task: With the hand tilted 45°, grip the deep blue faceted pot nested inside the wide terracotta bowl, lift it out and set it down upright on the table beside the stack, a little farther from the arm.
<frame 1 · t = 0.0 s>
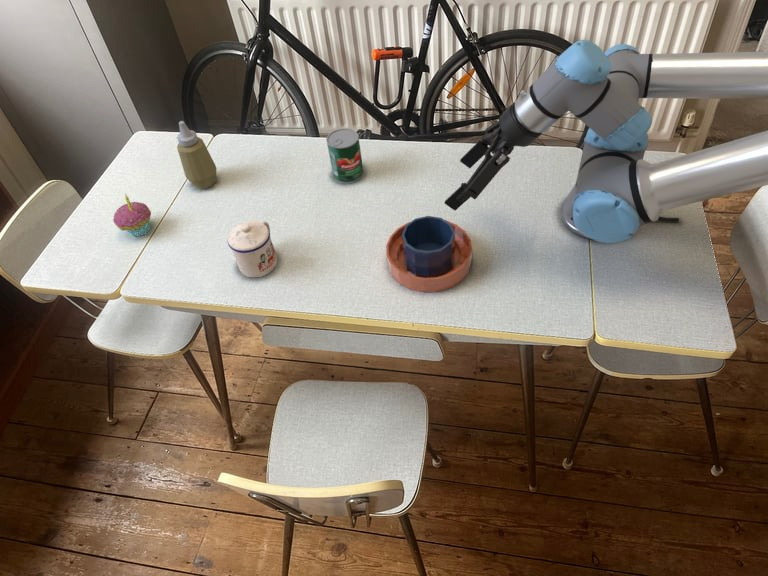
hand: (457, 184, 118), 15 cm above the table, tool tilted 35°, fingers open, 13 cm apart
lower bowl: (429, 261, 126), on the table
cupcake: (140, 230, 141), on the table
canned tomato: (348, 174, 148), on the table
teacup with lid: (261, 260, 131), on the table
blue faceted pot: (429, 260, 125), resting on lower bowl
squeeze bottle: (205, 182, 151), on the table
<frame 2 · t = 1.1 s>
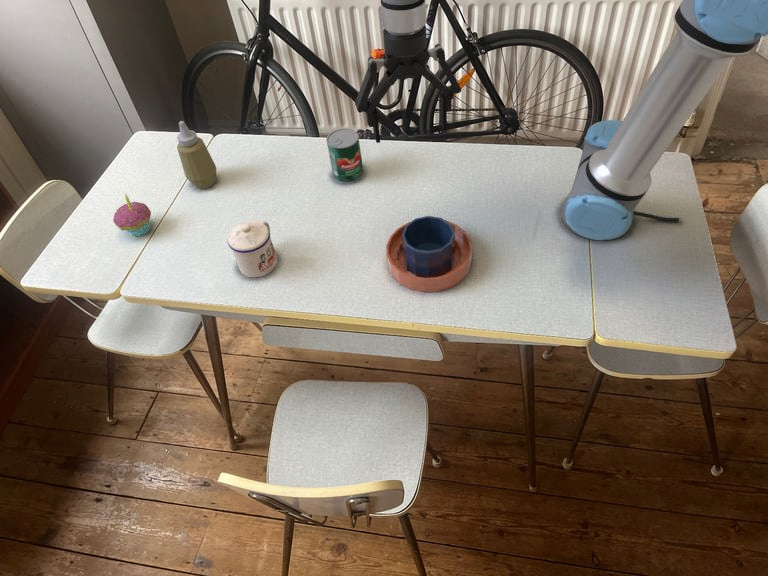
hand: (410, 132, 115), 25 cm above the table, tool pointing down, fingers open, 13 cm apart
nothing on the table moved.
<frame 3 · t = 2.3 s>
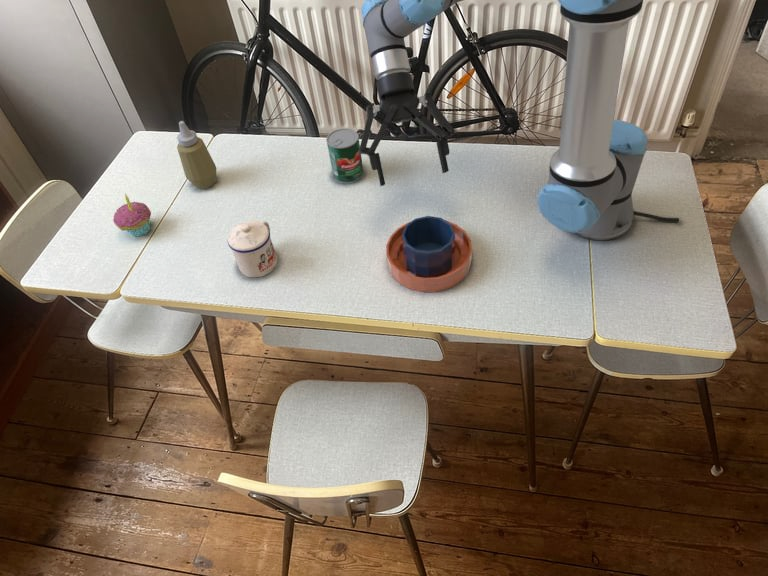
hand: (414, 178, 121), 15 cm above the table, tool tilted 45°, fingers open, 13 cm apart
nothing on the table moved.
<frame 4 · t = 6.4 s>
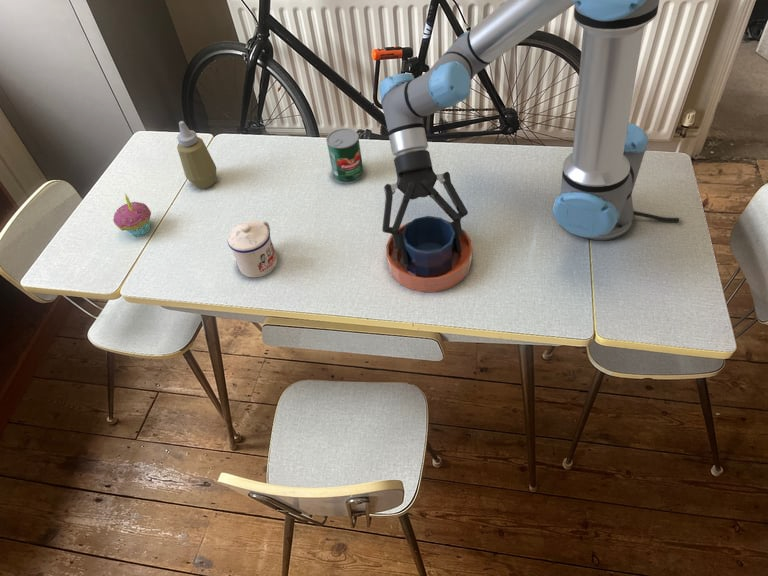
hand: (432, 258, 121), 4 cm above the table, tool tilted 45°, fingers closed on blue faceted pot, 11 cm apart
blue faceted pot: (429, 260, 125), point 1 cm above the table, touching gripper, lower bowl
everything else where it was.
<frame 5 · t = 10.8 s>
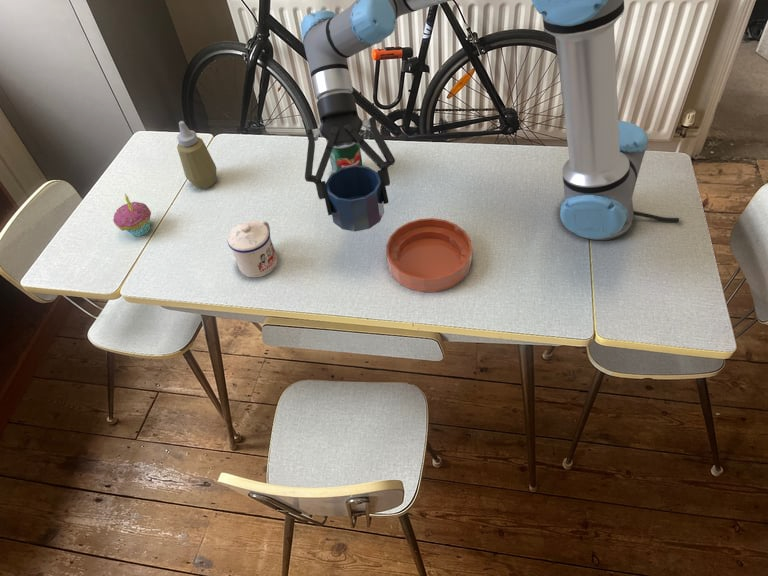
hand: (358, 209, 114), 16 cm above the table, tool tilted 45°, fingers closed on blue faceted pot, 11 cm apart
blue faceted pot: (357, 213, 119), point 13 cm above the table, touching gripper
everything else where it was.
when the fingers open (4 cm above the table, at t = 15.2 s): blue faceted pot stays where it is, on the table.
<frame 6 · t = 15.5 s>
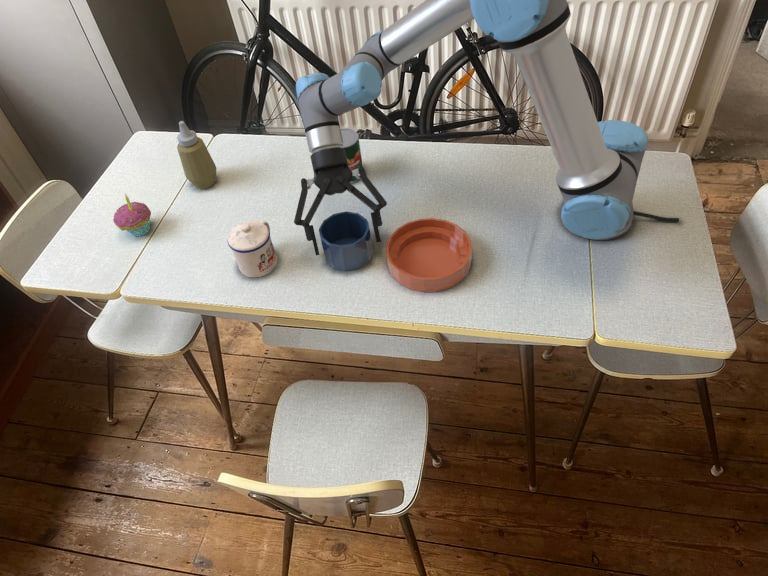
hand: (348, 248, 124), 4 cm above the table, tool tilted 45°, fingers open, 13 cm apart
blue faceted pot: (348, 254, 129), on the table
everything else where it was.
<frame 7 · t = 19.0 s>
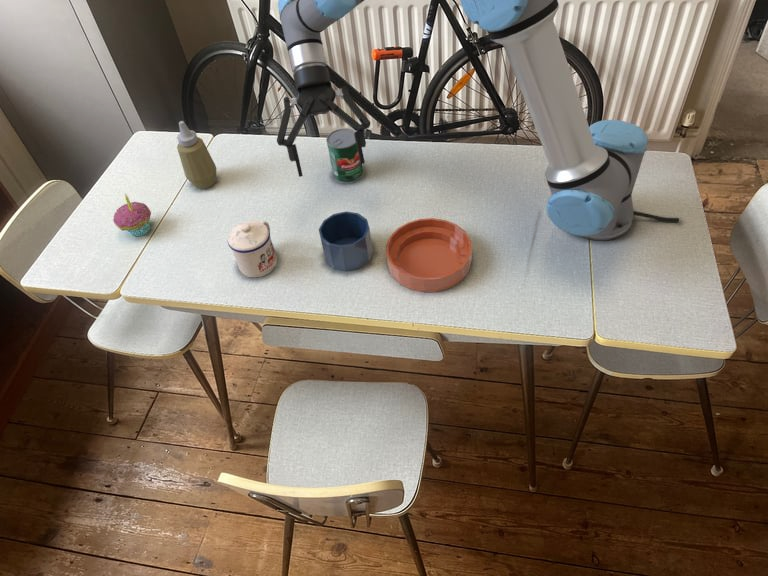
hand: (331, 169, 124), 16 cm above the table, tool tilted 45°, fingers open, 13 cm apart
nothing on the table moved.
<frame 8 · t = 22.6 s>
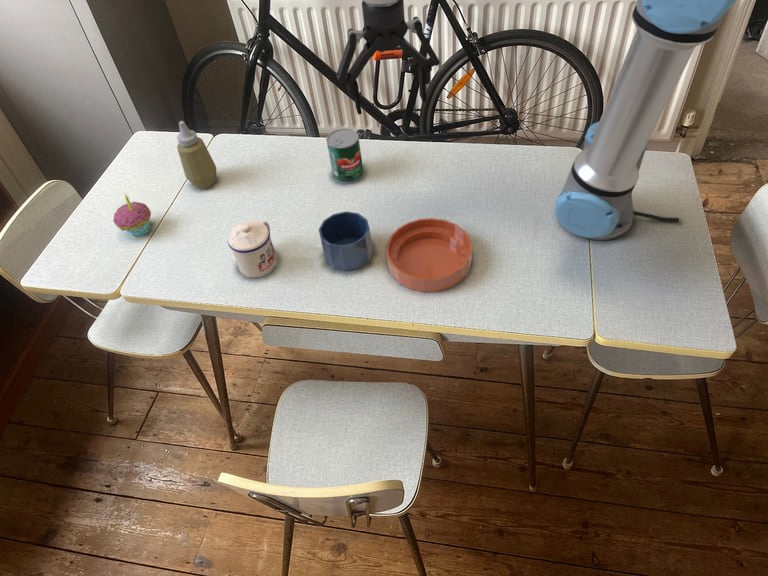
hand: (391, 104, 119), 27 cm above the table, tool pointing down, fingers open, 13 cm apart
nothing on the table moved.
at the end: blue faceted pot inside the target area (0.0 cm from its centre), on the table; blue faceted pot tilted 0°; the gripper is holding nothing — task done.
